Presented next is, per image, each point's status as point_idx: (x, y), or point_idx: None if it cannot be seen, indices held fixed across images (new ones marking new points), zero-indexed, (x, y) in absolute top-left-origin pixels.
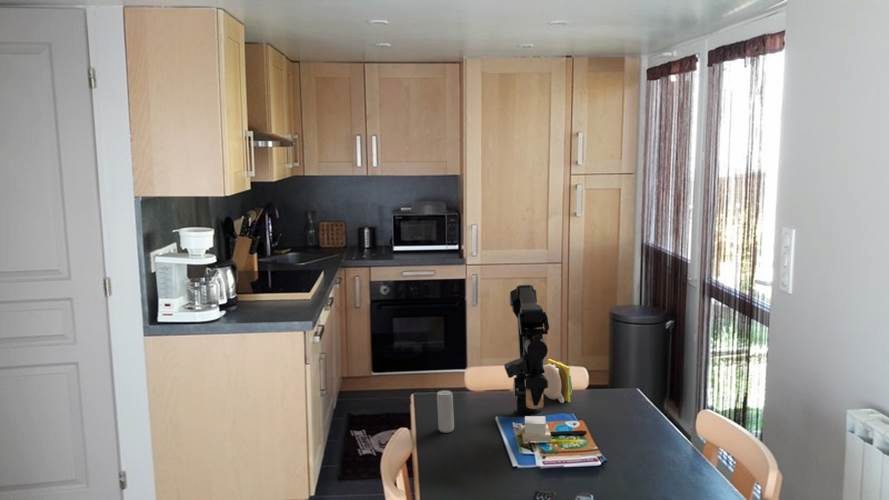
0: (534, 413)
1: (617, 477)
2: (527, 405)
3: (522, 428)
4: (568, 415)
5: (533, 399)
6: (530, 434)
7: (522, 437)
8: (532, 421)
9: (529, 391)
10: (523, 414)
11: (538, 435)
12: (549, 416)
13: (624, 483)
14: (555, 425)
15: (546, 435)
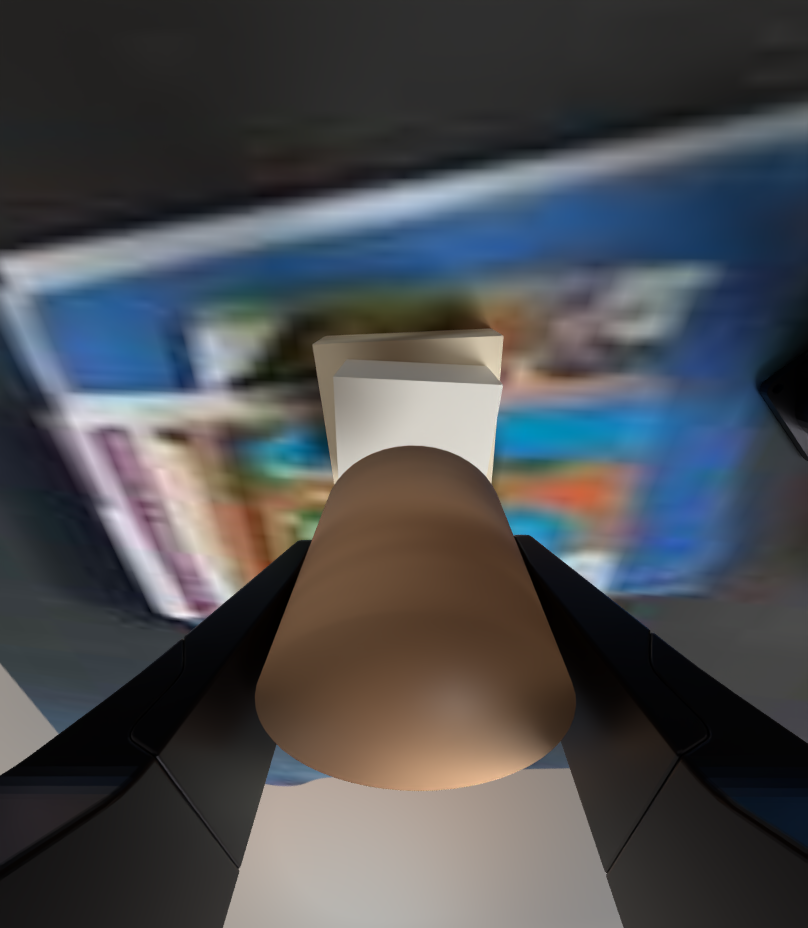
0: (782, 424)
1: (80, 641)
2: (362, 467)
3: (442, 344)
4: (678, 571)
5: (238, 603)
6: None
7: (390, 334)
8: (382, 437)
9: (291, 659)
10: (805, 354)
11: (328, 439)
12: (705, 495)
13: (46, 650)
14: (569, 512)
15: (334, 480)
